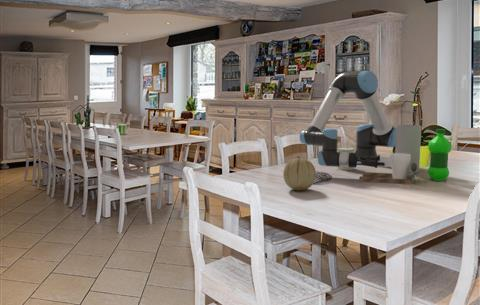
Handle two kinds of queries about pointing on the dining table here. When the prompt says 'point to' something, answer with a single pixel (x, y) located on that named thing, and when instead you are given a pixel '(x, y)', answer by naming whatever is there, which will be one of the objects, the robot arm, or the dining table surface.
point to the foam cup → (400, 165)
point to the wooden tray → (389, 177)
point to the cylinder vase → (409, 143)
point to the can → (349, 150)
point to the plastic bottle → (439, 156)
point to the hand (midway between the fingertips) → (392, 162)
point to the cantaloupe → (299, 174)
